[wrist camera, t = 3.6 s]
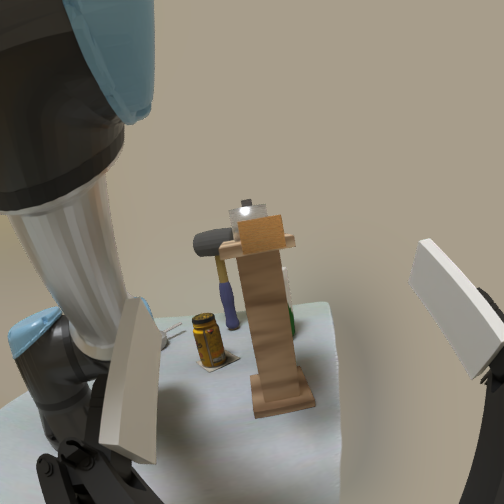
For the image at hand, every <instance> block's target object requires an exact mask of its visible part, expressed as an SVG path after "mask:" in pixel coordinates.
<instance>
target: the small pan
mask: <svg viewBox="0 0 504 504" xmlns="http://www.w3.org/2000/svg"><path fill="white" fill-rule="evenodd" d="M181 324H182V322H179V323H178V324H176V325H174V326H172V327H170V328H168V329H166V330H164V331H160V333H161V334H162V344H161V350H162V349H163V348H164V347H165V345H166V343H167V336H166V332H168V331H170V330H172V329H174V328H176V327H177V326H179V325H181Z"/></svg>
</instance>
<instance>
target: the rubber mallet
mask: <svg viewBox="0 0 504 504" xmlns="http://www.w3.org/2000/svg"><path fill="white" fill-rule="evenodd" d="M232 240H234V237H233V232H232V228H222V229H214V230H210V231H206V232H202V233H199V234H197V235H195V237H194V240H193V247H194V250H195V252H196V254H197V255H198V256H200V257H204V256H215V260H216V265H217V271H218V276H219V281H220V284H219V290H220V297H221V301H222V304H223V307H224V311H225V316H226V326H227V327H228V328H229V329H230V330H235V329H237V328H238V326H239V320H238V318H237V315H236V311H235V306H234V296H233V292H232V288H231V285H230V283H229V281H228V276H227V272H226V267H225V262H224V260H220V255H219V247H220V246H221V244H222V243H223V242H227V241H232Z"/></svg>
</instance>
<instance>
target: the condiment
mask: <svg viewBox="0 0 504 504" xmlns="http://www.w3.org/2000/svg"><path fill="white" fill-rule="evenodd" d="M192 323H193V327H194V329H193V333H194V337H195V341H196V345H197V349H198V352H199V356H200V359H201V360H200V361H197V362H196V363H198V364H199V365H200V366H201V367H203V368H204V369H205V370H207V371H208V372H211V371H214V370H216V369H218V368H221V367H223V366H225V365H227V364H228V363H231V362H234V361H235V360H237V359H239V357H237V356H235V355H233V354H231V353H229V352H227V351H226V350H224V347H223V342H222V338H221V334H220V330H219V326H218V325H217V324H216V320H215V316H214V314H212V313H203V314H199V315H196V316H194V317H193V318H192Z"/></svg>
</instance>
